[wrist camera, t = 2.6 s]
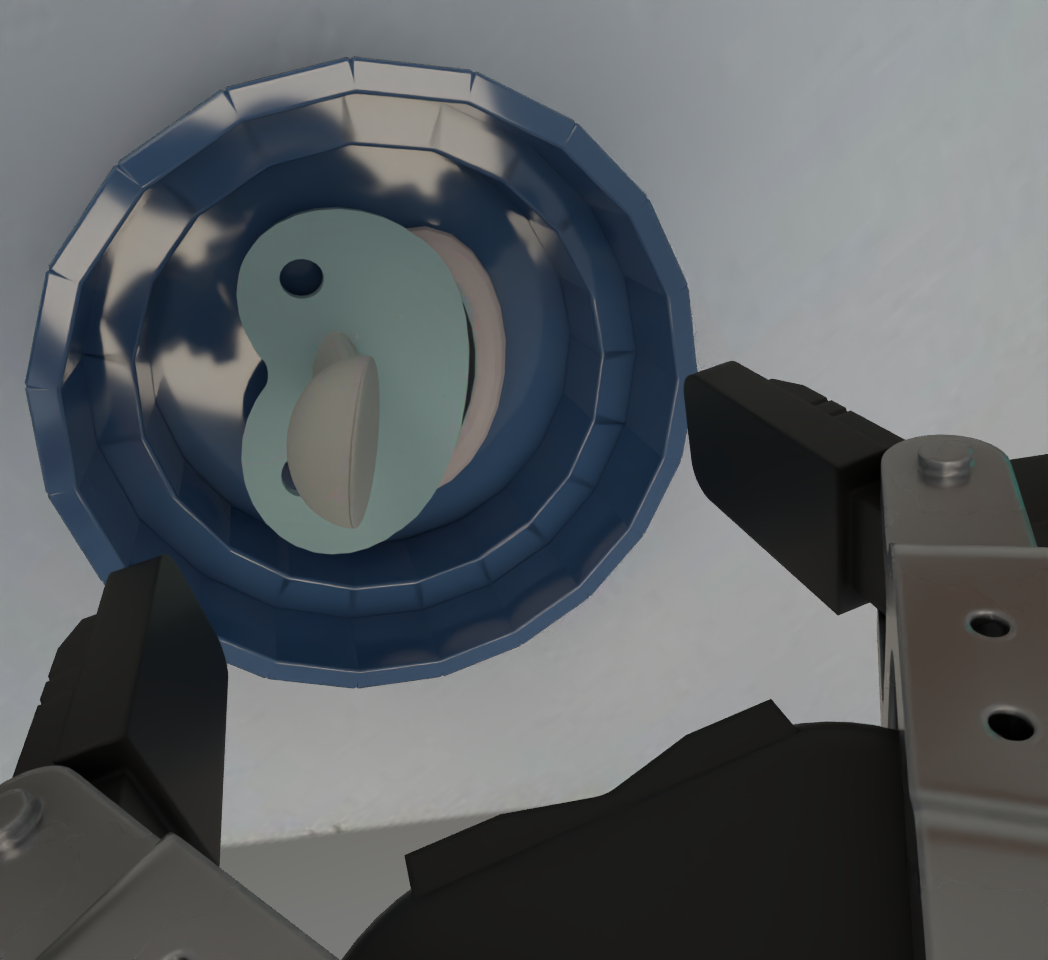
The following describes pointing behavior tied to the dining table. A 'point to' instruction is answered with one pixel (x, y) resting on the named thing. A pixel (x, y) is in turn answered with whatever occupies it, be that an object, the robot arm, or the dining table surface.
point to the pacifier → (365, 374)
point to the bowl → (229, 233)
